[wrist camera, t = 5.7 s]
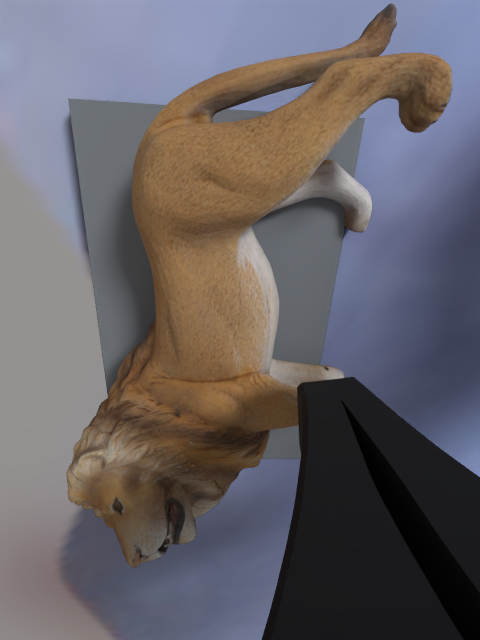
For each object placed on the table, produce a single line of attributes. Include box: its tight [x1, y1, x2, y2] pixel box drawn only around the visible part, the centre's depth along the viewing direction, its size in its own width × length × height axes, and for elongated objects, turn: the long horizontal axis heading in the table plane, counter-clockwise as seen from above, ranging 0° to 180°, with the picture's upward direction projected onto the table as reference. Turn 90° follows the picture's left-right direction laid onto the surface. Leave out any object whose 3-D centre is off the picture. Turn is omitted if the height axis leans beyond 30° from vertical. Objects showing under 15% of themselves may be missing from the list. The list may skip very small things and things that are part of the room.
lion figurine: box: [67, 4, 452, 567], centre depth 10 cm, size 15×5×9 cm
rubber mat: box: [68, 99, 365, 459], centre depth 13 cm, size 8×13×1 cm, turn 177°
